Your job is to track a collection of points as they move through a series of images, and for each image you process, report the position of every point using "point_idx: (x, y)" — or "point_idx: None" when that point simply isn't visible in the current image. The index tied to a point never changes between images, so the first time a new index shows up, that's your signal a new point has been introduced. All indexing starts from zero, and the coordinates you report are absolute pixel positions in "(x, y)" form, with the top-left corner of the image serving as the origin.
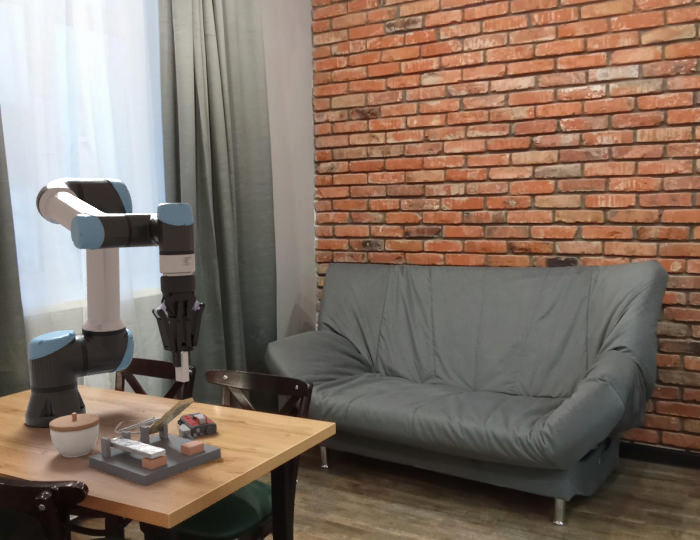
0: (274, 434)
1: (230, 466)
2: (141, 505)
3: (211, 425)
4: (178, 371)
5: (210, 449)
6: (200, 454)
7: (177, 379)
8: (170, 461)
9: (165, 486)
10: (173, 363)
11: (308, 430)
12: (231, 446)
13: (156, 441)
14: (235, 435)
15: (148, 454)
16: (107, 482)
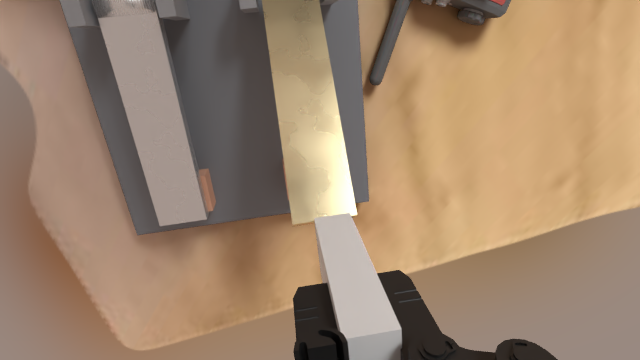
0: (550, 153)
1: None
2: (101, 300)
3: (487, 12)
4: (323, 270)
5: None
6: None
7: (316, 234)
8: (229, 194)
9: (180, 253)
10: (294, 311)
11: (608, 189)
12: (429, 148)
13: None
14: (498, 81)
15: (157, 212)
16: (76, 142)
